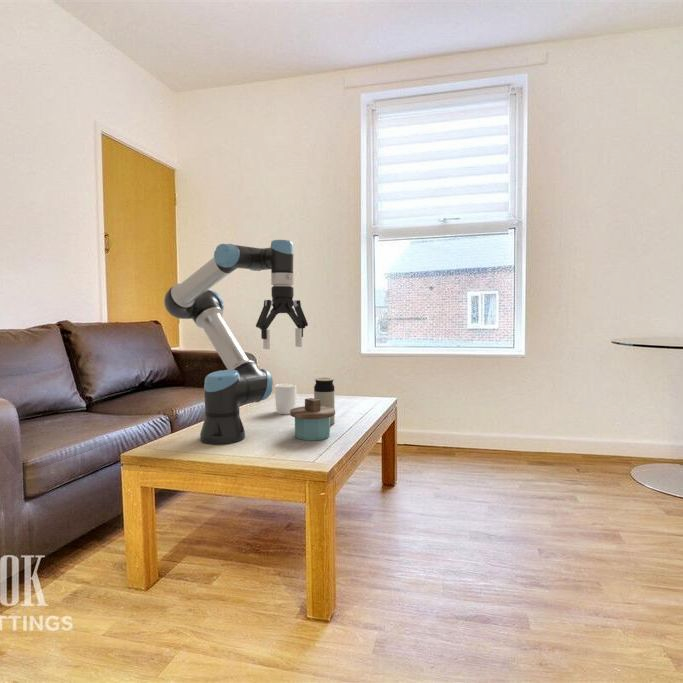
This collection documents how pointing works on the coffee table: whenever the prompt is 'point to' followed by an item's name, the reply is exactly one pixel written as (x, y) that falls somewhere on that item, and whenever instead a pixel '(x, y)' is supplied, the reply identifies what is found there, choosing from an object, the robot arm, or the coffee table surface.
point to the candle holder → (285, 397)
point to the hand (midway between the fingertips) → (283, 347)
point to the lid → (312, 410)
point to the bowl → (312, 429)
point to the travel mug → (325, 393)
